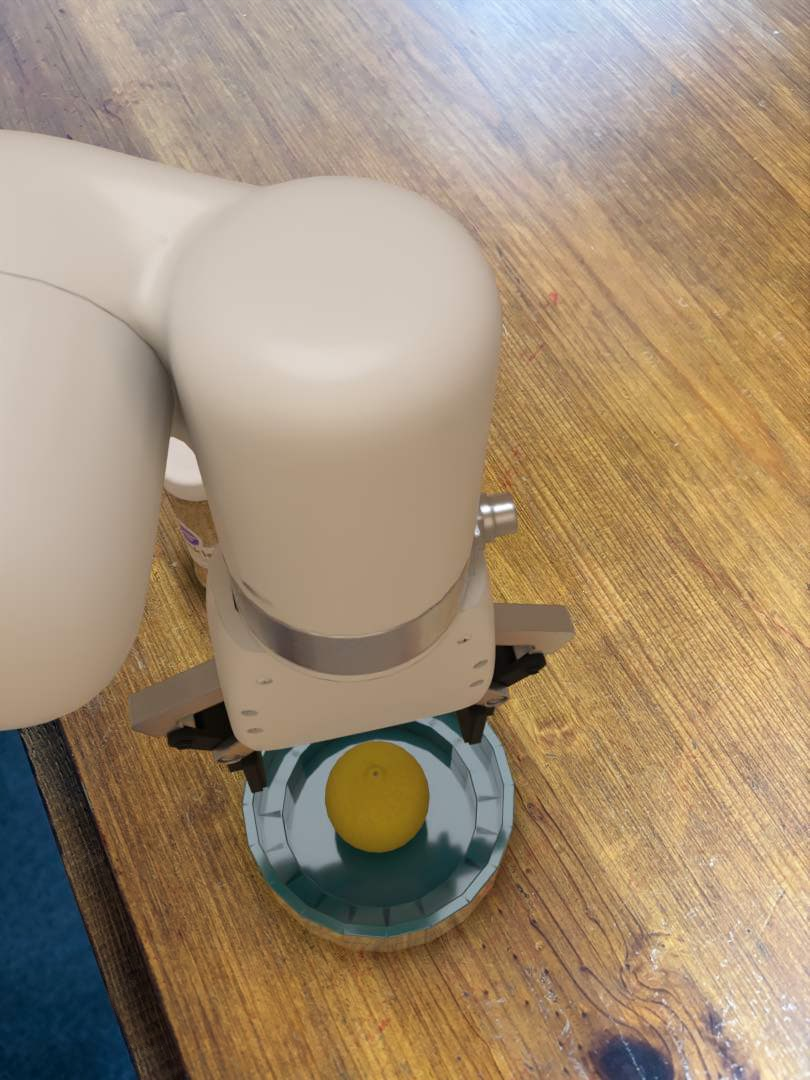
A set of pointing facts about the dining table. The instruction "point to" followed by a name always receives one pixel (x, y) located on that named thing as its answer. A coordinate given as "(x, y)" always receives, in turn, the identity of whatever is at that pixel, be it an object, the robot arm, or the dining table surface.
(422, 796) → the lemon
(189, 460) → the sprinkles bottle
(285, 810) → the bowl
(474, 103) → the dining table surface
